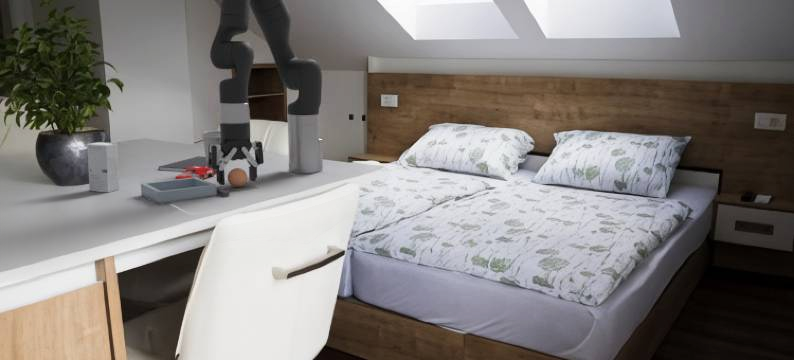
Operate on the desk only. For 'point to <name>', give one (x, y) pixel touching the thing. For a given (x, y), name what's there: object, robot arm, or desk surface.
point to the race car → (196, 173)
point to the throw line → (222, 192)
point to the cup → (212, 143)
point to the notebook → (185, 164)
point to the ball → (237, 177)
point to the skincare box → (103, 167)
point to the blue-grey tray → (177, 190)
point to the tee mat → (232, 188)
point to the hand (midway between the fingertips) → (237, 182)
